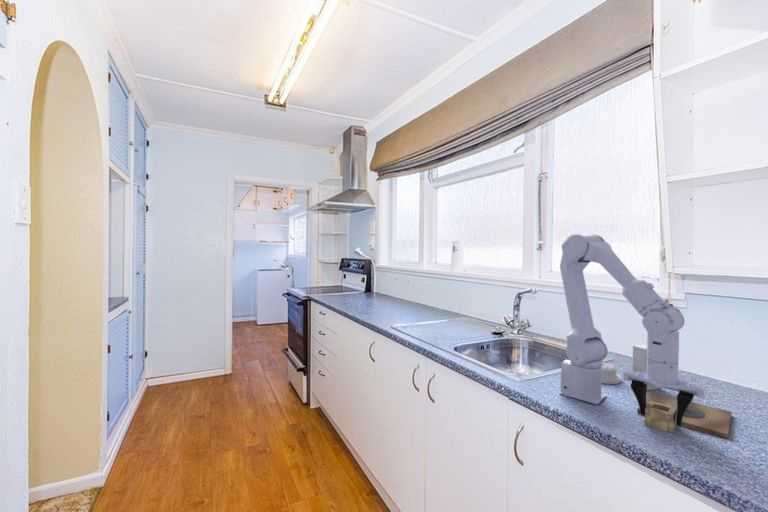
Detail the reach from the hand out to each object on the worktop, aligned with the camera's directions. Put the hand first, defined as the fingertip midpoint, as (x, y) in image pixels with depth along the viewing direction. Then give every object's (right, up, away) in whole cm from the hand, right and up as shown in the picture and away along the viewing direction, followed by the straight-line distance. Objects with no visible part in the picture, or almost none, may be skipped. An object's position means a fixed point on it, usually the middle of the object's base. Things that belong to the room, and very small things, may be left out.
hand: (660, 418), depth 82 cm
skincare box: (+13, -1, +22) cm, 26 cm away
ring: (0, -1, 0) cm, 1 cm away
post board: (+10, -1, +5) cm, 11 cm away
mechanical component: (+4, -1, +29) cm, 29 cm away
